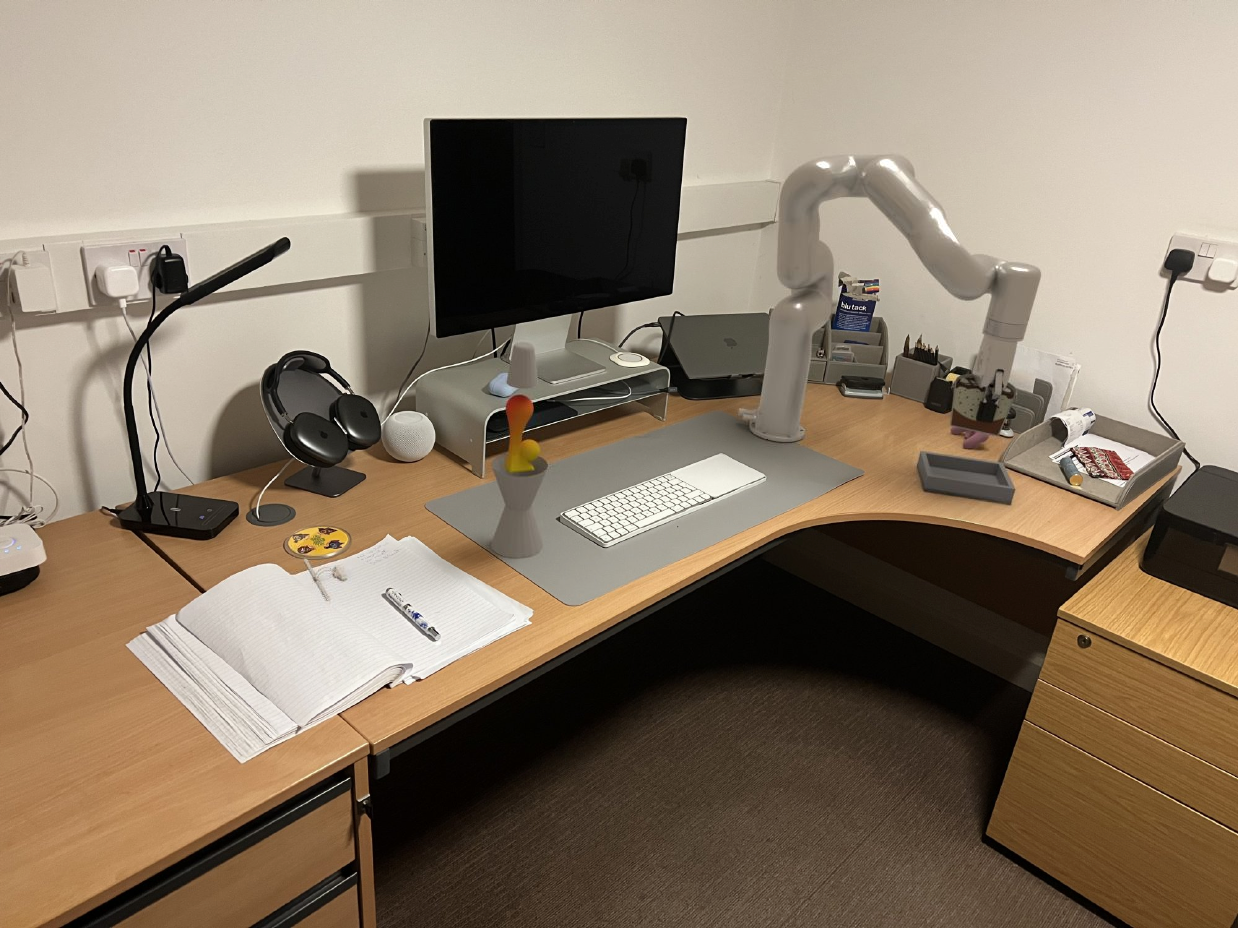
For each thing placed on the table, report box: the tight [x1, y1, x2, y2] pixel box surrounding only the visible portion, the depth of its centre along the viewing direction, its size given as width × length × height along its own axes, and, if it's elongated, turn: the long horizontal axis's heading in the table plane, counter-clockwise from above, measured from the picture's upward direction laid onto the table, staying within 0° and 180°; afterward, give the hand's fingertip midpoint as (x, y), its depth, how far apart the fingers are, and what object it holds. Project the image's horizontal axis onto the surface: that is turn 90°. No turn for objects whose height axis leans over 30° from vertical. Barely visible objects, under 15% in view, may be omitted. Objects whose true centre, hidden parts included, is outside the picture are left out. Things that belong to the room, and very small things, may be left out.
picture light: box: [302, 558, 348, 602], centre depth 134 cm, size 14×4×2 cm, turn 33°
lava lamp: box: [490, 341, 549, 559], centre depth 140 cm, size 9×9×35 cm
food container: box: [949, 373, 1018, 437], centre depth 176 cm, size 12×6×10 cm, turn 64°
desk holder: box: [916, 450, 1016, 505], centre depth 182 cm, size 17×13×4 cm
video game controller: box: [950, 426, 991, 450], centre depth 204 cm, size 10×5×7 cm, turn 0°
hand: (981, 414), depth 177 cm, fingers closed on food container, 5 cm apart
